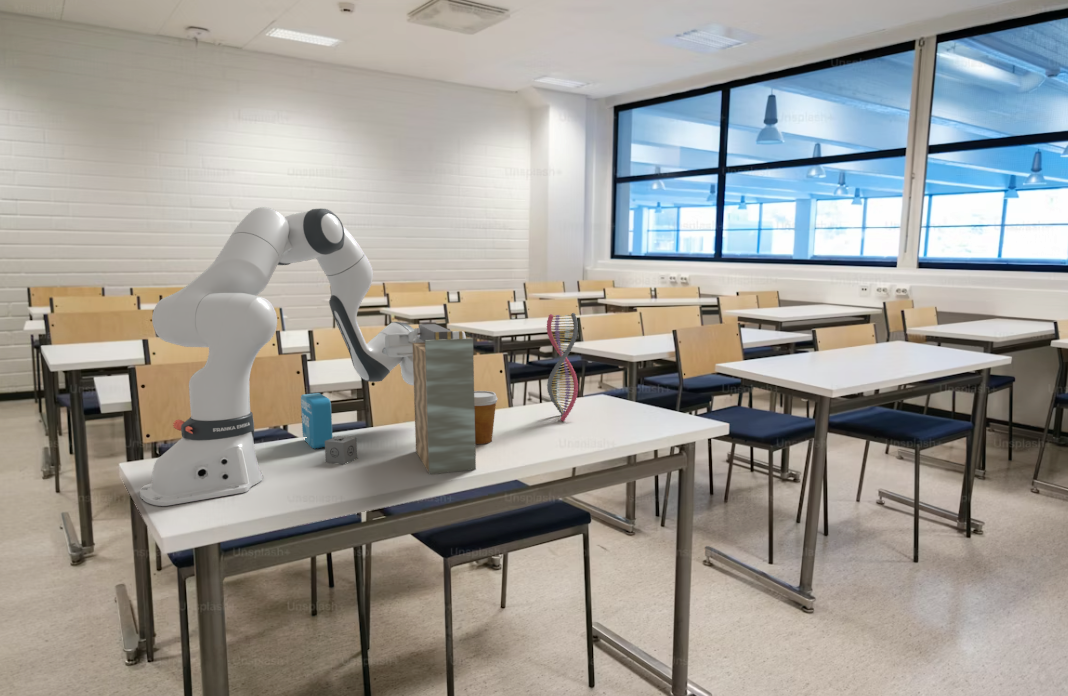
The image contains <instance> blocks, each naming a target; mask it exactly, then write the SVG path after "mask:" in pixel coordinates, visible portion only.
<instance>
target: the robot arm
mask: <svg viewBox="0 0 1068 696" xmlns="http://www.w3.org/2000/svg"><path fill="white" fill-rule="evenodd" d="M311 260H317V263H318V264H319V266H320V268H321V269H322V271H323V273H324V274H325V276H326V277H327V280H328V283H329V285H330V293H331V295H330V298H329V301H328V303H329V307H330V310H331V313H332V315H333V318H334V321H335V323H336V325H337V328H338V330H339V332H340V334H341V336H342V339H343V341H344V344H345V346H346V348H347V350H348V352H349V356H350V360H351V363H352V365H353V369H354V370H355V371H356V373H357V374H358V375H359V377H360V378H361V379H362V380H363V381H365V382H369V383H371V382H372V383H376V382H377V383H378V382H383V380H385V378H386V377H387V376H388V375H389V374H390V372H392V370H394V369H395V368H396V367H397V366H398V365H399V366H400V372H401V373H400V374H401V378H402V379H403V381H404V383H406V384H408V385H410V386H414V375H413V344H412V343H420V342H424V341H422V340H421V339H419V337H421V328H419V327H417V328H414V327H412V326H411V325H409V324H407V323H404V322H400V321H391V323H389V324H388V325H387V326H385V327H384V328H383V329H382V330H380V331H379V332H378V334H377V335H375V336H374V337H373V338H371V339H370V340H369V341H368V342H367V341H366V339H365V337H364V336H363V335H364V334H363V333H362V330H361V328H360V326H359V323H358V320H357V319H358V318H357V315H358V311H359V309H360V306H361V303H362V301H363V300H364V299H365V296H366V295H367V293H368V292H369V291H370V288H371V286H372V283H373V280H374V279H373V278H374V269H373V266H372V263H371V262H370V260H369V258H368V257H367V255H366V253H365V252H364V250H363V248H362V247H361V246H360V244H359V243H358V242H357V240H356V239H355V237H354V236H353V235H352V233H351V232H350V231H349V230H348V229H347V228H346V227H345V226H344V225H343V223H342V221H341V219H340V217H338V215H336V213H334V212H333V211H332V210H330V209H328V208H312V209H310V210H308V211H301V212H298V213H293V214H288V215H286V216H284V215H283V214H282V213H280V212H279V211H278V210H276V209H274V208H271V207H266V206H264V207H263V206H261V207H257V208H254V209H253V210H251V211H250V212H249V213H248V214H247V215H245V217H244V218H243V219H242V220H241V221H240V222H239V223H238V225H237V226H236V227H235V228H234V230H233V231H232V233H231V235H230V236H229V238H228V240H227V241H226V243H225V244H224V246H223V247H222V249H221V251H220V252H219V254H218V255H217V257H216V258H215V260H214V261H213V262H212V264H210V265H209V266H208V268H207V269H206V270H204V271H203V272H202V273H201V274H199V275H198V276H197V277H196V278H195V279H194V280H192V281H190V283H188V284H187V285H186V286H184V287H183V288H181V289H180V290H178V291H176V292H174V293H172V294H170V295H168V296H165V297H162V299H160V300H159V301H158V302H157V303H156V305H155V307H154V309H153V311H152V317H151V318H152V320H151V321H152V326H153V329H154V331H155V334H156V335H157V337H158V338H159V339H161V340H162V341H164V342H166V343H170V344H171V345H172V344H173V345H177V346H182V347H185V348H208V356H207V359H206V363H205V365H204V366H203V367H201V368H200V369H199V370H197V371H195V372H194V373H193V374H192V376H191V377H190V378H189V381H188V390H189V391H188V394H189V408H190V417H189V418H188V419H186V421H184V420H182V419H176V420H175V421H174V422H173V423H172V426H173V428H174V429H175V430H177V431H179V432H181V438H180V439H178V441H177V442H176V443H175V444H173V445H172V446H171V447H169V449H168V450H166V451H165V452H164V453H163V454H161V456H159V457H158V458H157V459H156V461H154V464H153V468H152V474H151V483H148V484H144V485H143V486H142V487H140V489H139V498H141V500H142V499H143V501H144V502H145V503H147V504H150V505H152V506H157V507H158V506H159V507H161V506H162V507H167V506H172V505H178V504H179V505H180V504H184V503H189V502H190V503H191V502H196V501H203V500H208V499H213V498H219V497H226V496H231V495H239V494H242V493H246V492H248V491H249V490H250V489H251V488H252V487H253V486H255V485H256V484H258V483H260V482H261V481H262V480H263V479H264V476H263V472H262V470H261V468H260V465H259V463H258V458H257V454H256V449H255V448H256V447H255V444H254V443H255V442H254V438H255V421H254V416H253V412H252V411H251V401H250V400H251V399H250V398H251V397H250V395H251V394H250V377H251V373H252V372H251V371H252V367H253V364H254V363H255V360H256V357H257V355H258V354H259V352H260V351H261V349H262V348H263V347H265V345H267V343H269V342H270V341H271V340H272V339H273V337H274V335H275V334H276V332H277V331H276V330H277V327H278V316H277V315H278V314H277V312H276V310H275V308H274V305H273V304H272V302H271V301H270V300H268V299H267V298H265V297H263V296H258V295H259V294H261V293H262V292H263V291H264V290H265V289H266V288H267V286H268V284H269V282H270V279H271V278H272V276H273V275H274V273H275V270H276V268H277V266H288V265H291V264H295V263H297V264H298V263H300V262H307V261H311ZM451 331H452V336H453V339H459V331H460V330H454V331H453V330H451ZM461 331H462V337H463V338H467V337H466V333H465V332H464V331H463V330H461Z"/></svg>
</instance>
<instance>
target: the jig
mask: <svg viewBox="0 0 1068 696" xmlns="http://www.w3.org/2000/svg"><path fill="white" fill-rule="evenodd" d="M458 331H459V339H451V332H447V339H439V332H435V334H436V340H425V342H420V343H412V344H413V375H414V385H413V398H414V399H413V402H414V429H415V431H414V435H415V436H414V437H415V452H416V454H417V455H418V457H419V459H420V461H421V462H422V464H423V465H424V467H425V469H426V470H427V473H428V474H429V475H435V474H446V473H454V472H465V471H473V470H477V468H476V467H477V463H476V462H477V461H476V460H477V459H476V458H477V457H476V444H475V407H474V391H475V370H474V368H475V366H474V364H475V363H474V362H475V361H474V360H475V359H474V338H472V337H466V338H463V337H462V331H463V330H458Z"/></svg>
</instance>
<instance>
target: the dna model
mask: <svg viewBox="0 0 1068 696" xmlns="http://www.w3.org/2000/svg"><path fill="white" fill-rule="evenodd" d="M561 317H562V318H561ZM578 324H579V323H578V319H577V315H576V313H575V312H573V313H570V314H565V315H560V314H556V315H553V314H551V313H550V314H549V315H548V318H547V320H546V333H547V337H548V339H549V341H550V343H551V344H552V346H553V347H554V349H555V351H556V352H557V354H559V355H558V356H560V358H559V359H558V361H557V363H555V365H554V367H553V368H552V371H550V374H549V377H548V380H547V384H546V386H547V387H546V388H547V389H546V390H547V393H548V396H549V398H550V401H551V402H552V403H553V405H554V406H555V408H556V410H557V411H558V412H559V413H560V415H561V417H560V421H561V422H565V421H566V419H567V417H568V416H569V415H570V413H571V412H572V410H573V407H574V406H575V404H576V400H577V397H578V394H579V393H578V392H579V383H578V382H579V381H578V378H577V373H576V371H575V369H574V368H573V365H572V363H571V362H570V360H569V359H568V356H569V354H570V352H571V351H572V349H573V347H574V345H575V343H576V340H577V338H578V334H579V333H578V332H579V325H578ZM569 333H570V334H569ZM566 344H568V345H566ZM571 391H573V392H571ZM558 393H560V394H558ZM561 393H562V394H561ZM561 401H562V402H561Z"/></svg>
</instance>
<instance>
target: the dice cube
mask: <svg viewBox="0 0 1068 696" xmlns="http://www.w3.org/2000/svg"><path fill="white" fill-rule="evenodd" d="M357 439H358V438H357V437H353V436H343V435H342V436H341V435H337V436H334V437H333V438H331V439H329V440H326V441H325V447H324V452H325V453H324V455H325V463H326V462H328V464H335V463H339V464H338V465H346V464H345V463H347V462H349V461H351V462H353V461H355V460H357V459H358V443H357V441H358V440H357ZM356 458H357V459H356ZM354 459H355V460H354ZM352 460H353V461H352ZM349 463H350V462H349ZM347 464H348V463H347Z"/></svg>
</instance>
